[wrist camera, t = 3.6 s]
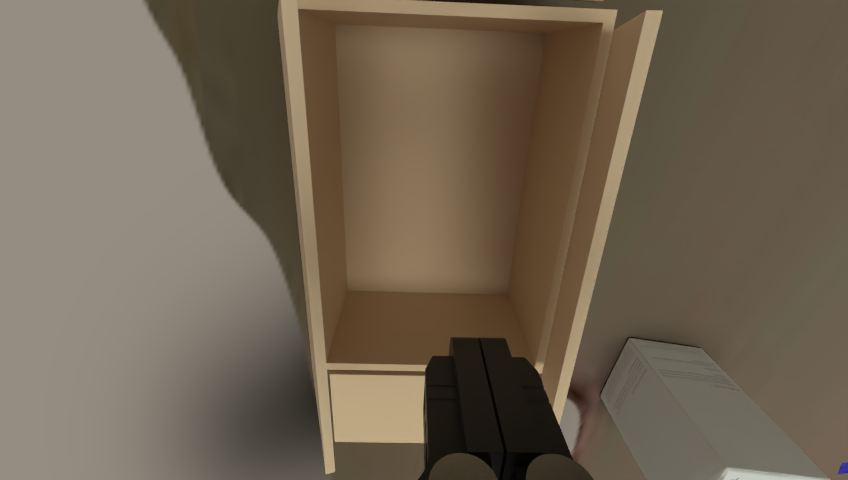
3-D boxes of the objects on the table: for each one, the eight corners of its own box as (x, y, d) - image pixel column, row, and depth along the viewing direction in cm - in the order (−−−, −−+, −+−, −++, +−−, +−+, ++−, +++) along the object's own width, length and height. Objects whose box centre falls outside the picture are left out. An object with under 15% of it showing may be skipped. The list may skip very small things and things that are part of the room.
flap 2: (537, 473, 18) (546, 476, 18) (646, 10, 11) (663, 10, 10) (542, 370, 24) (549, 372, 24) (613, 29, 17) (624, 30, 17)
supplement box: (597, 396, 38) (674, 541, 27) (628, 334, 35) (730, 468, 24) (667, 406, 39) (772, 551, 28) (704, 346, 36) (838, 482, 25)
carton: (571, -102, 22) (661, -194, 14) (502, 355, 36) (527, 444, 28) (321, -115, 22) (263, -219, 14) (346, 352, 36) (324, 441, 27)
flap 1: (296, -6, 10) (280, -8, 10) (335, 471, 18) (325, 474, 18) (287, 15, 16) (277, 14, 16) (319, 366, 24) (312, 367, 24)
